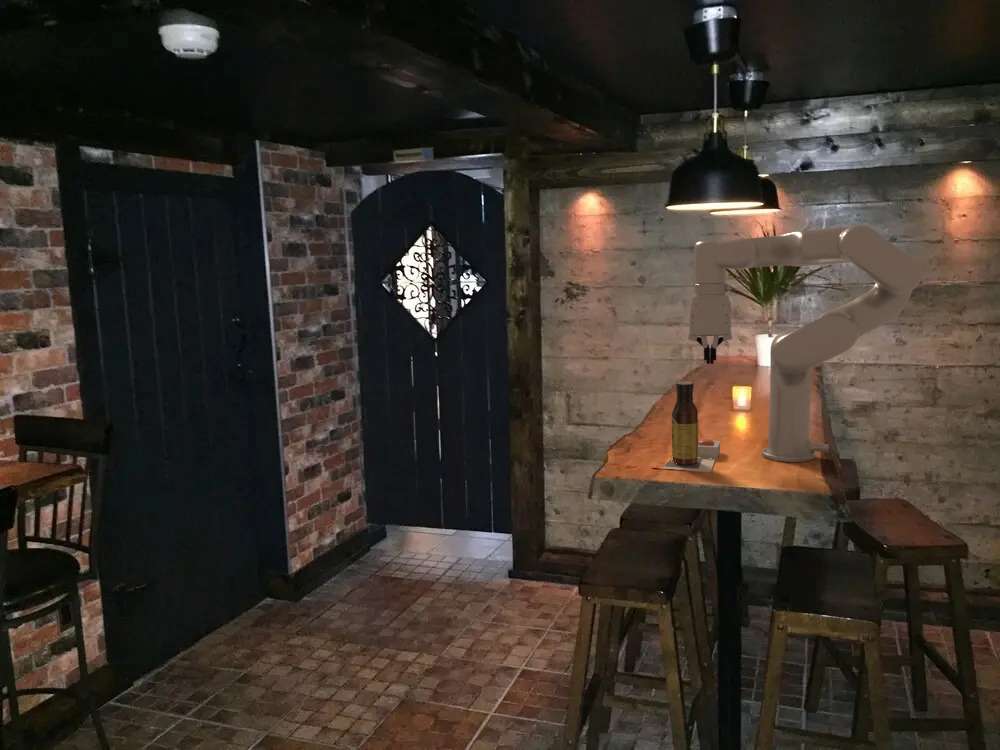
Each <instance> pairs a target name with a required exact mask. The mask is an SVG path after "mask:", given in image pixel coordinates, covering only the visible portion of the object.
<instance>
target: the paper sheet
mask: <svg viewBox="0 0 1000 750" xmlns="http://www.w3.org/2000/svg"><path fill="white" fill-rule="evenodd" d="M715 462H716V459H709V458H697V463H695V464H691V465H682V464H676V463H673V460H672V462H671V460H670V461H669V462H667V464H665V466H664V467H663V468H665V469H676V470H675V471H680V470H686V471H685V472H696V473H699V472H700V473H712V470H713V468H714V464H715ZM661 468H662V467H661ZM665 469H664V470H665ZM677 469H678V470H677Z"/></svg>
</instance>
